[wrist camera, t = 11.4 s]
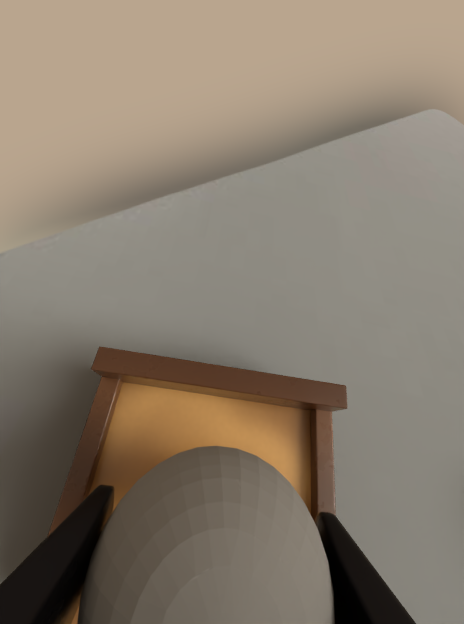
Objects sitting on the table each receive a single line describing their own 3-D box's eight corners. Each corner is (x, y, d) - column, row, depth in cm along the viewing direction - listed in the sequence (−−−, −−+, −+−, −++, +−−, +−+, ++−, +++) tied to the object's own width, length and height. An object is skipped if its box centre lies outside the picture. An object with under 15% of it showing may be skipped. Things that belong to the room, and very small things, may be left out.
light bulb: (213, 631, 11) (294, 1330, 2) (109, 534, 12) (-108, 780, 3) (282, 492, 14) (445, 582, 5) (192, 420, 15) (193, 387, 6)
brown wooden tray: (306, 636, 14) (369, 746, 9) (50, 612, 13) (-37, 719, 8) (306, 398, 19) (346, 385, 14) (124, 370, 18) (98, 345, 13)
